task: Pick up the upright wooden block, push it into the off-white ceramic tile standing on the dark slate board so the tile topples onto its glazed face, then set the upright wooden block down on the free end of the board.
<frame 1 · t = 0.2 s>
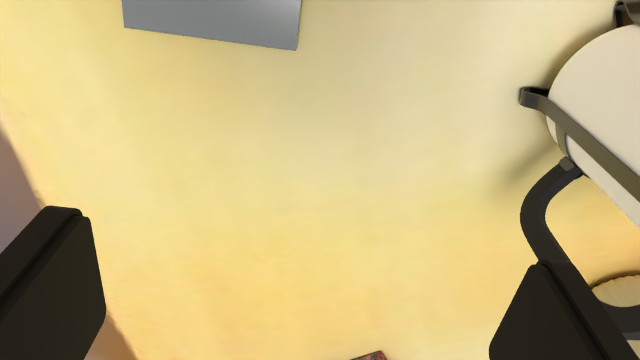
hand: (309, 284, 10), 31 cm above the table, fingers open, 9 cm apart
coffee press: (592, 98, 40), on the table
canister: (616, 306, 54), on the table
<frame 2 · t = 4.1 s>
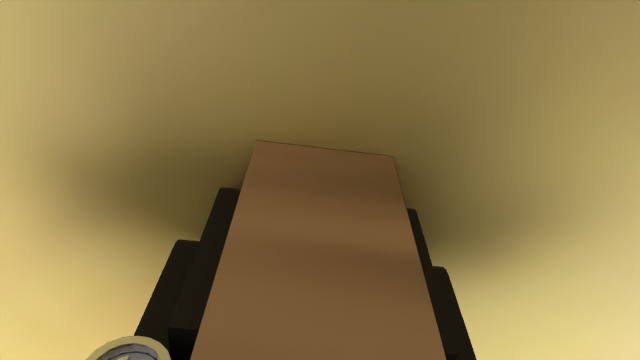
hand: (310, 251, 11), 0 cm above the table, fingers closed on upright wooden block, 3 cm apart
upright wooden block: (304, 281, 12), on the table, touching gripper
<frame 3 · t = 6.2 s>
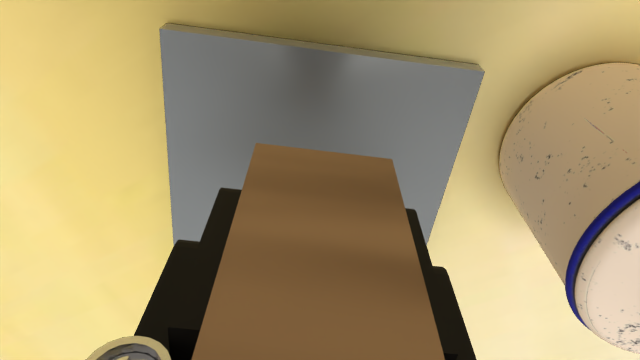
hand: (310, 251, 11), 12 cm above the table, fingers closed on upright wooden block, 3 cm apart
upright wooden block: (304, 283, 12), point 11 cm above the table, touching gripper
slate board: (302, 220, 25), on the table
teacup with lid: (611, 141, 22), on the table
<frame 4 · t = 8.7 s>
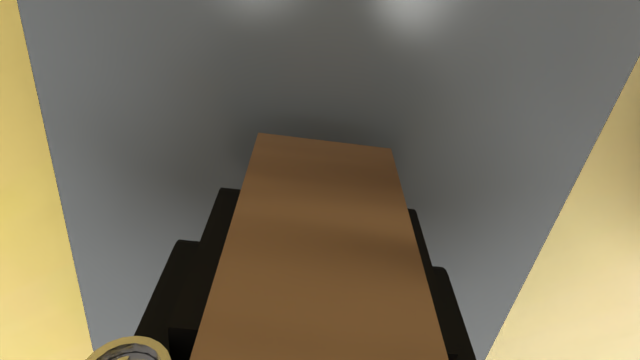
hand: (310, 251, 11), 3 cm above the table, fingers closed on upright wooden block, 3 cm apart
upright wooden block: (305, 272, 12), point 2 cm above the table, touching gripper
slate board: (302, 250, 15), on the table
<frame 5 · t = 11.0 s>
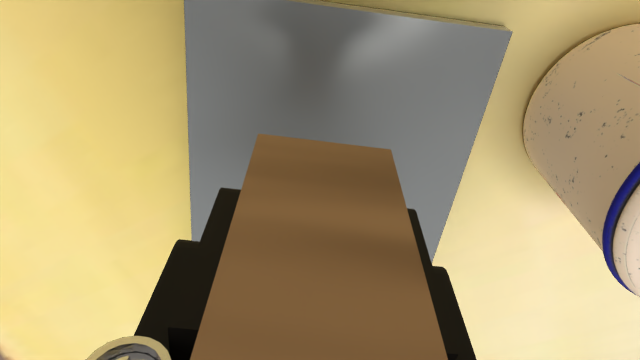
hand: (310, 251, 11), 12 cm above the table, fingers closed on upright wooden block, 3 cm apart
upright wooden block: (305, 272, 12), point 12 cm above the table, touching gripper
slate board: (321, 192, 25), on the table
teacup with lid: (637, 108, 22), on the table
when the fingers open (3 cm above the table, at t = 12.9 s): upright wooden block stays where it is, resting on slate board.
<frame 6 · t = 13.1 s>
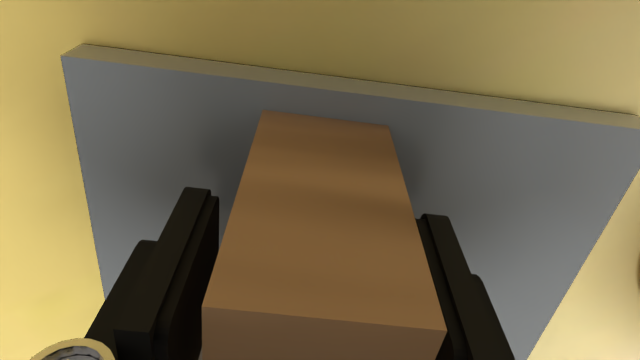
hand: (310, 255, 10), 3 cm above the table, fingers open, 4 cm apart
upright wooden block: (306, 246, 13), point 1 cm above the table, touching slate board
slate board: (318, 342, 16), on the table
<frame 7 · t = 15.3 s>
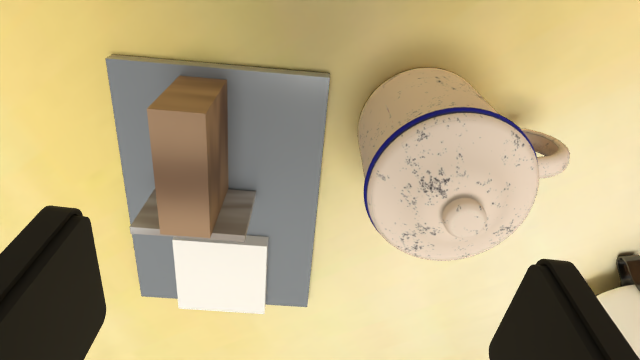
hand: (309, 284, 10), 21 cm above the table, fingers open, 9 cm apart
coffee press: (600, 324, 40), on the table
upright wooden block: (205, 135, 30), point 1 cm above the table, touching slate board
slate board: (224, 195, 33), on the table
teacup with lid: (439, 124, 31), on the table
tile: (221, 238, 33), point 2 cm above the table, tilted 90°, touching slate board
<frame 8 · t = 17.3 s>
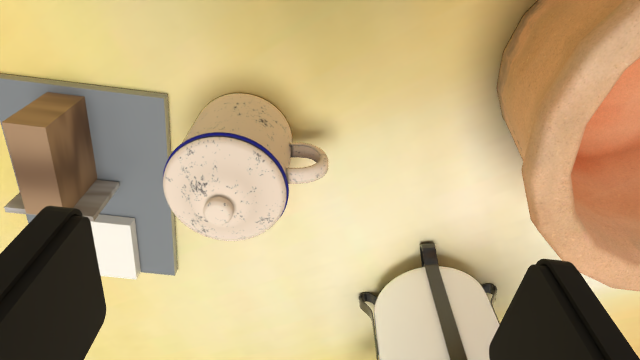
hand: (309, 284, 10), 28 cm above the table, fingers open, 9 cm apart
coffee press: (419, 298, 50), on the table
pottery: (600, 65, 36), on the table
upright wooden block: (73, 137, 38), point 1 cm above the table, touching slate board
slate board: (98, 184, 42), on the table
teacup with lid: (260, 136, 39), on the table
tile: (95, 217, 42), point 2 cm above the table, tilted 90°, touching slate board
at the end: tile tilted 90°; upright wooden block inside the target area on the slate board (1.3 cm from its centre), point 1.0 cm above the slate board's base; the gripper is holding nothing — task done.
